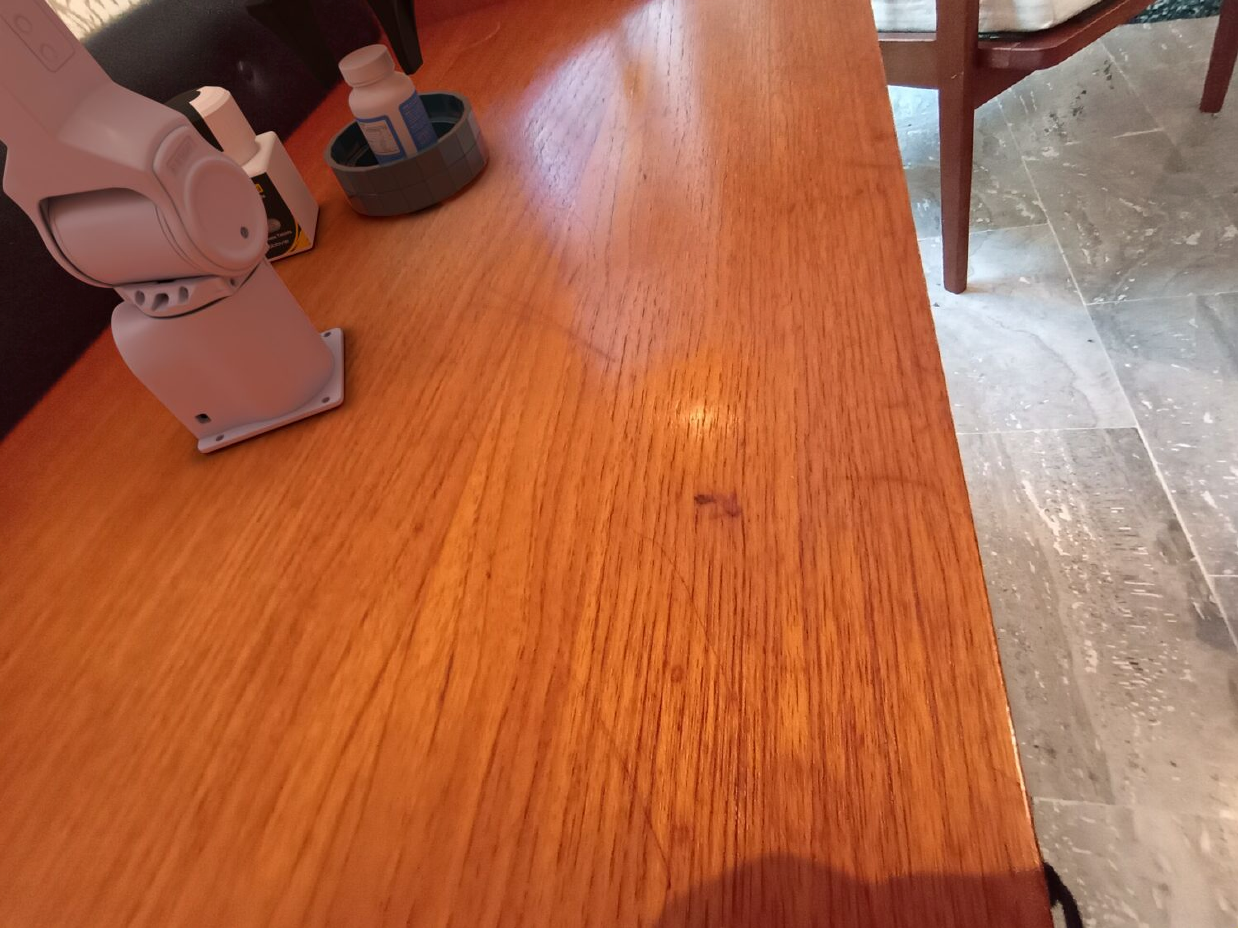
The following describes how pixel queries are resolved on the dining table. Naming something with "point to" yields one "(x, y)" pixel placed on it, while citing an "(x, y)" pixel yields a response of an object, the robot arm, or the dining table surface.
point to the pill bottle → (386, 104)
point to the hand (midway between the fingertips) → (372, 76)
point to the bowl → (410, 161)
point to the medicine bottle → (256, 167)
